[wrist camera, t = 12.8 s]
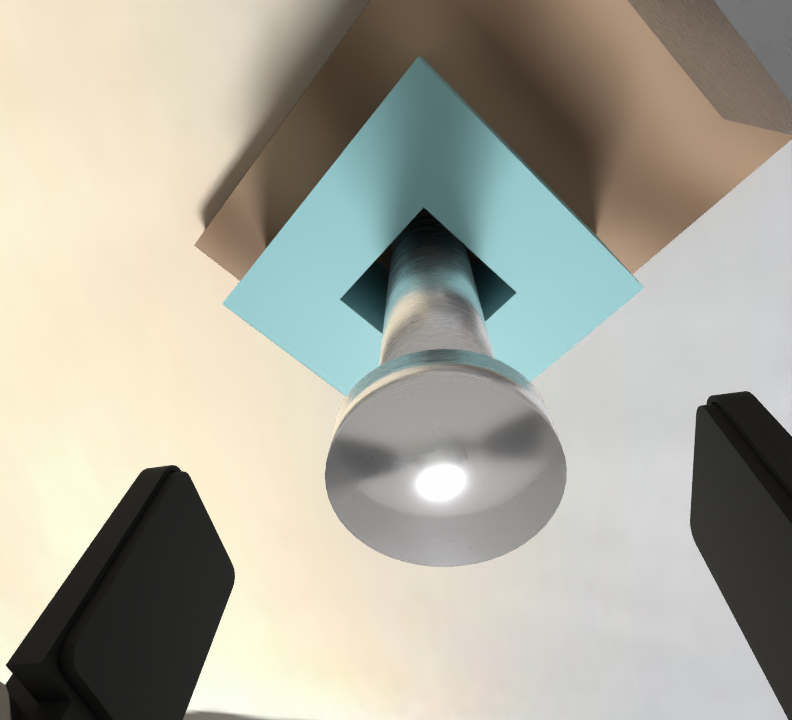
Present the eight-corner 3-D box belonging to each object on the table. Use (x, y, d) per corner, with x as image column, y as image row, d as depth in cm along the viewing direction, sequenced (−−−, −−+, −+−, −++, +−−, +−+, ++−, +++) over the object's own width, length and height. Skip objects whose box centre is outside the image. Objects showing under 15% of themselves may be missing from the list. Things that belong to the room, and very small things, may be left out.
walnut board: (830, -625, 14) (870, -694, 13) (1070, -126, 18) (1119, -139, 17) (206, 235, 26) (194, 245, 25) (441, 419, 30) (441, 435, 29)
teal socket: (420, 55, 21) (417, 57, 15) (596, 234, 24) (644, 287, 18) (266, 249, 25) (222, 303, 19) (432, 383, 27) (433, 462, 22)
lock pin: (425, 162, 22) (441, 332, 9) (504, 238, 24) (617, 479, 11) (352, 245, 24) (277, 488, 11) (430, 311, 26) (447, 596, 12)
